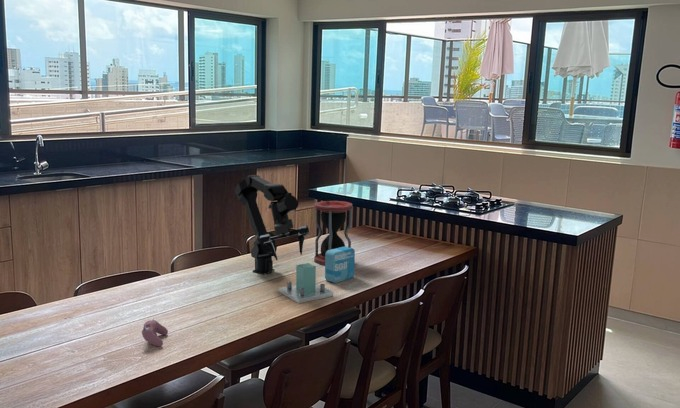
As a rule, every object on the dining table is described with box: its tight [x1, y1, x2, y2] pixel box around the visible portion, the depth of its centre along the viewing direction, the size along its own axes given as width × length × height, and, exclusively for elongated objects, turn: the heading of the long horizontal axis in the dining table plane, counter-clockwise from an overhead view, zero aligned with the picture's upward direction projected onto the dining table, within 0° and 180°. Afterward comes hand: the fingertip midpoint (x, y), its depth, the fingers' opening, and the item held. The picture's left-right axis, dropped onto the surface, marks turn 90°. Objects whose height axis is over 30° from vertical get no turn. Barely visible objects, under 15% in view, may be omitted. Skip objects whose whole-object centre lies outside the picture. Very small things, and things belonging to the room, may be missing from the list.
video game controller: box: [141, 318, 169, 347], centre depth 175 cm, size 10×5×7 cm, turn 6°
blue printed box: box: [324, 245, 356, 284], centre depth 235 cm, size 12×4×12 cm, turn 136°
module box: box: [295, 262, 317, 293], centre depth 217 cm, size 5×5×9 cm
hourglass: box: [313, 200, 353, 266], centre depth 259 cm, size 16×16×25 cm
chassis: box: [278, 281, 334, 304], centre depth 217 cm, size 14×14×4 cm
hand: (289, 257), depth 226 cm, fingers open, 9 cm apart
